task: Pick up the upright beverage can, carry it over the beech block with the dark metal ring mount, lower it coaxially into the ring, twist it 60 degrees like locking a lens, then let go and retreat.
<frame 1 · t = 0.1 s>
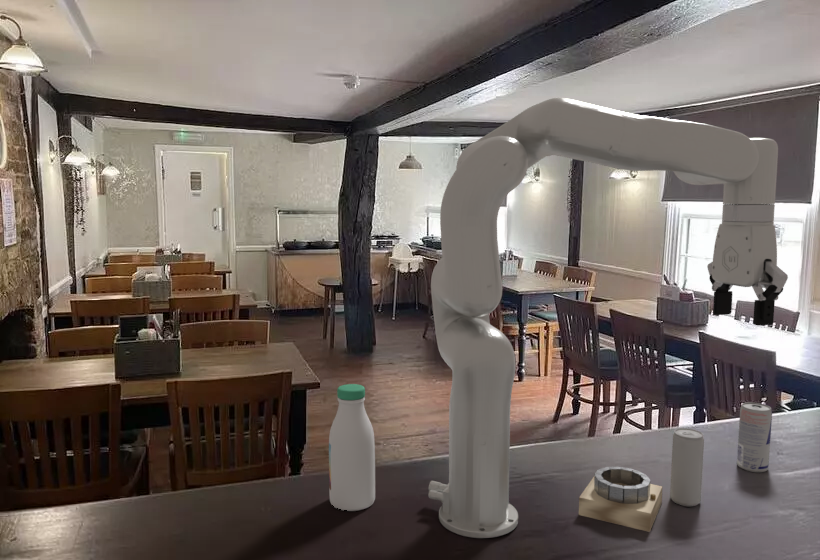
hand: (741, 319, 108), 31 cm above the table, tool pointing down, fingers open, 9 cm apart
mount block: (620, 509, 107), on the table
energy drink: (752, 468, 124), on the table
milk bottle: (352, 502, 110), on the table
mount ring: (621, 484, 107), point 4 cm above the table
beverage can: (684, 502, 110), on the table
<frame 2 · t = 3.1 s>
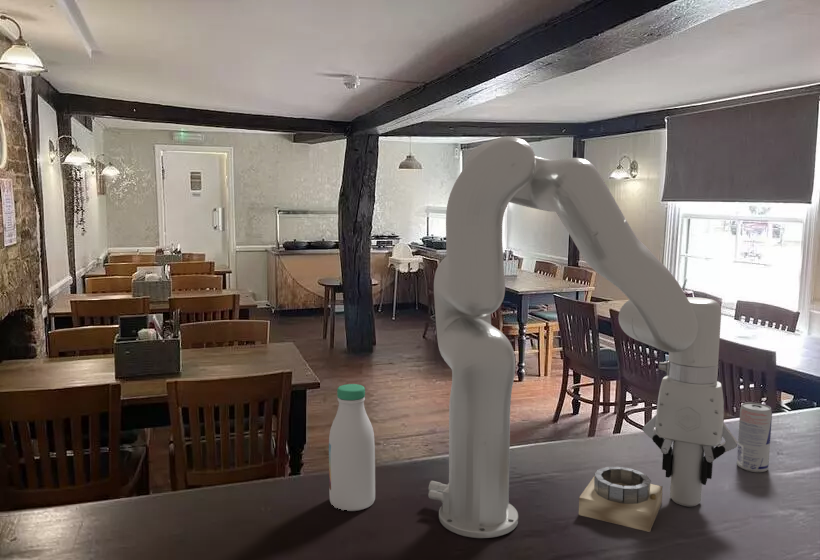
hand: (686, 477, 109), 4 cm above the table, tool pointing down, fingers closed on beverage can, 4 cm apart
beverage can: (684, 502, 110), on the table, touching gripper
everything else where it was.
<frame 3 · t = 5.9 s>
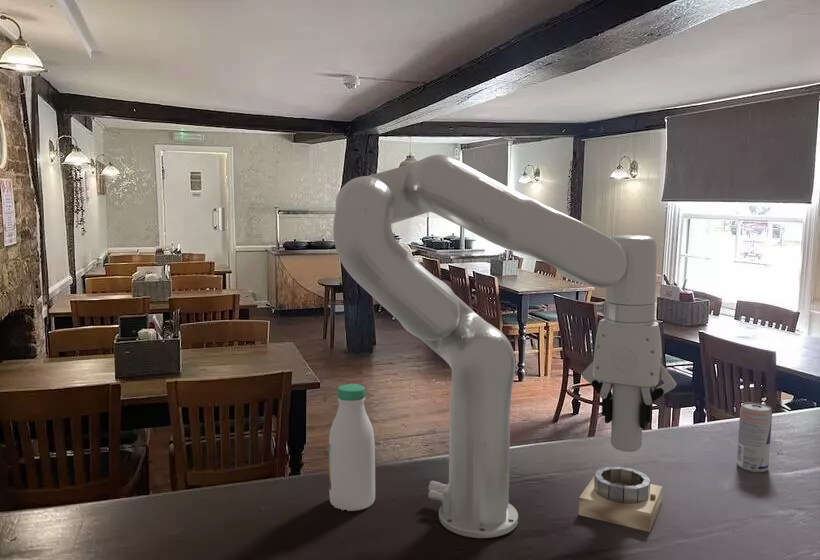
hand: (626, 422, 105), 15 cm above the table, tool pointing down, fingers closed on beverage can, 4 cm apart
beverage can: (625, 448, 106), point 10 cm above the table, touching gripper
everything else where it was.
when the fingers open (8 cm above the table, at t = 8.4 s): beverage can stays where it is, resting on mount block.
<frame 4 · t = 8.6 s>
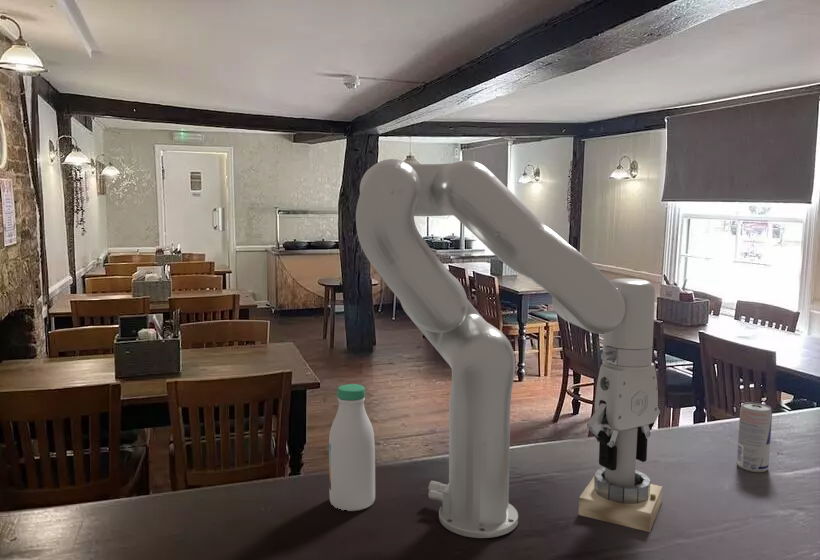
hand: (622, 462, 106), 8 cm above the table, tool pointing down, fingers open, 6 cm apart
beverage can: (618, 491, 107), point 3 cm above the table, touching mount block
everything else where it was.
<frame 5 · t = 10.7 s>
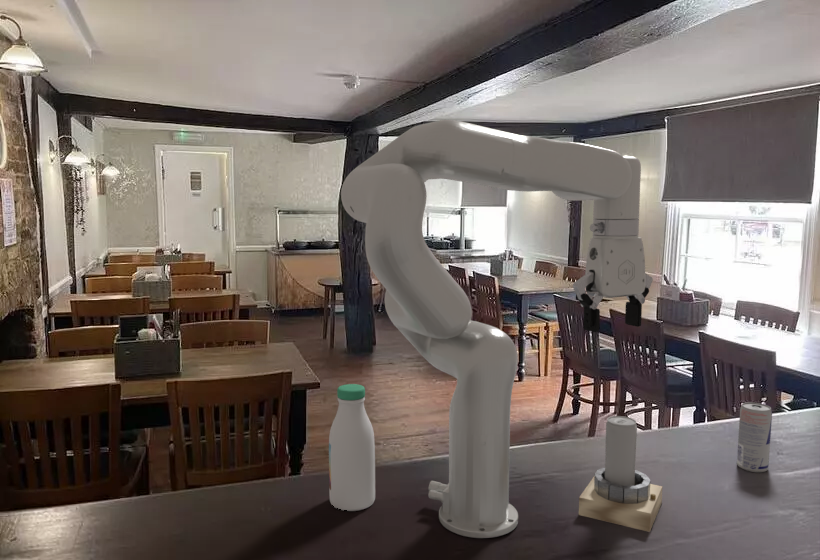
hand: (612, 328, 113), 29 cm above the table, tool pointing down, fingers open, 9 cm apart
nothing on the table moved.
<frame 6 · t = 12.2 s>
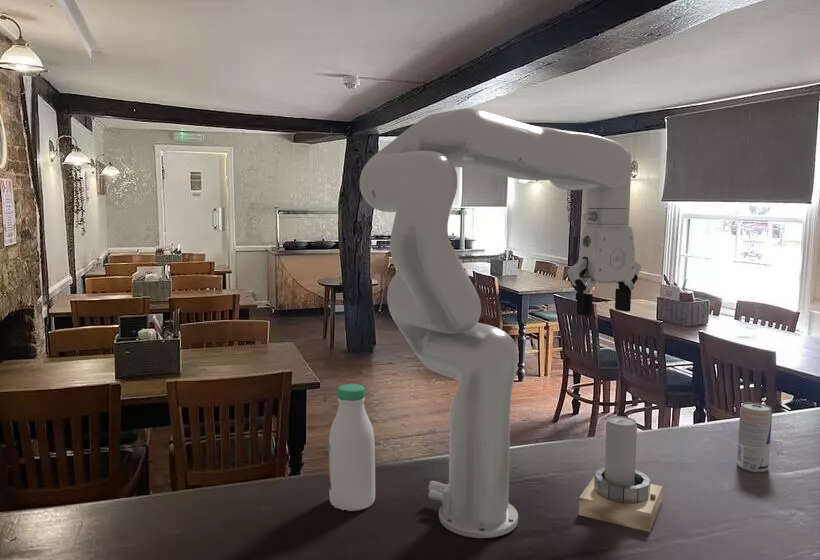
hand: (603, 312, 118), 30 cm above the table, tool pointing down, fingers open, 9 cm apart
nothing on the table moved.
at the end: beverage can 0.5 cm off-centre on the mount block, point 2.8 cm above the mount block's base; beverage can tilted 0°; the gripper is holding nothing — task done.
